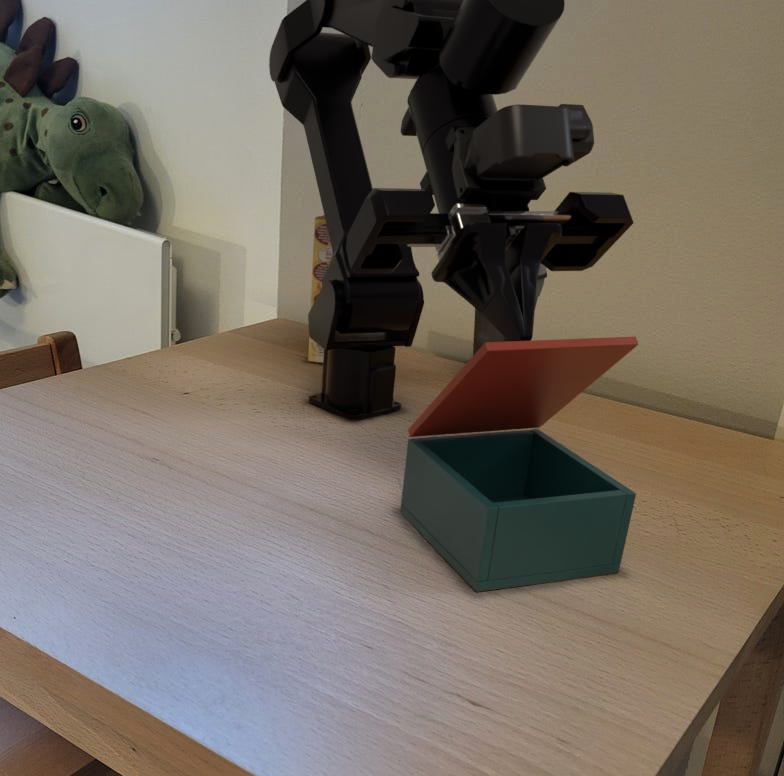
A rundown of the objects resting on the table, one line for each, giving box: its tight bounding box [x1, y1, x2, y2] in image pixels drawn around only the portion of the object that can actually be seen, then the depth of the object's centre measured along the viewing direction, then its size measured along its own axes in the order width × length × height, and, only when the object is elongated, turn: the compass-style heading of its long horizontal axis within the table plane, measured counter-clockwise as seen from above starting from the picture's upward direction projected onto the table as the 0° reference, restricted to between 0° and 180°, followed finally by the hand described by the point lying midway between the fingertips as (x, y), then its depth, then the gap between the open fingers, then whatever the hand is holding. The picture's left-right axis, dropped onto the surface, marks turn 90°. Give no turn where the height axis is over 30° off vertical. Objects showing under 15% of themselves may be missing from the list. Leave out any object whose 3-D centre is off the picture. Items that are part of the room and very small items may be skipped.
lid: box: [407, 336, 639, 438], centre depth 59 cm, size 12×10×1 cm
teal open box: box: [399, 428, 637, 593], centre depth 61 cm, size 11×10×6 cm
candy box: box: [307, 214, 333, 364], centre depth 99 cm, size 9×4×15 cm, turn 161°
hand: (523, 343), depth 58 cm, fingers closed
